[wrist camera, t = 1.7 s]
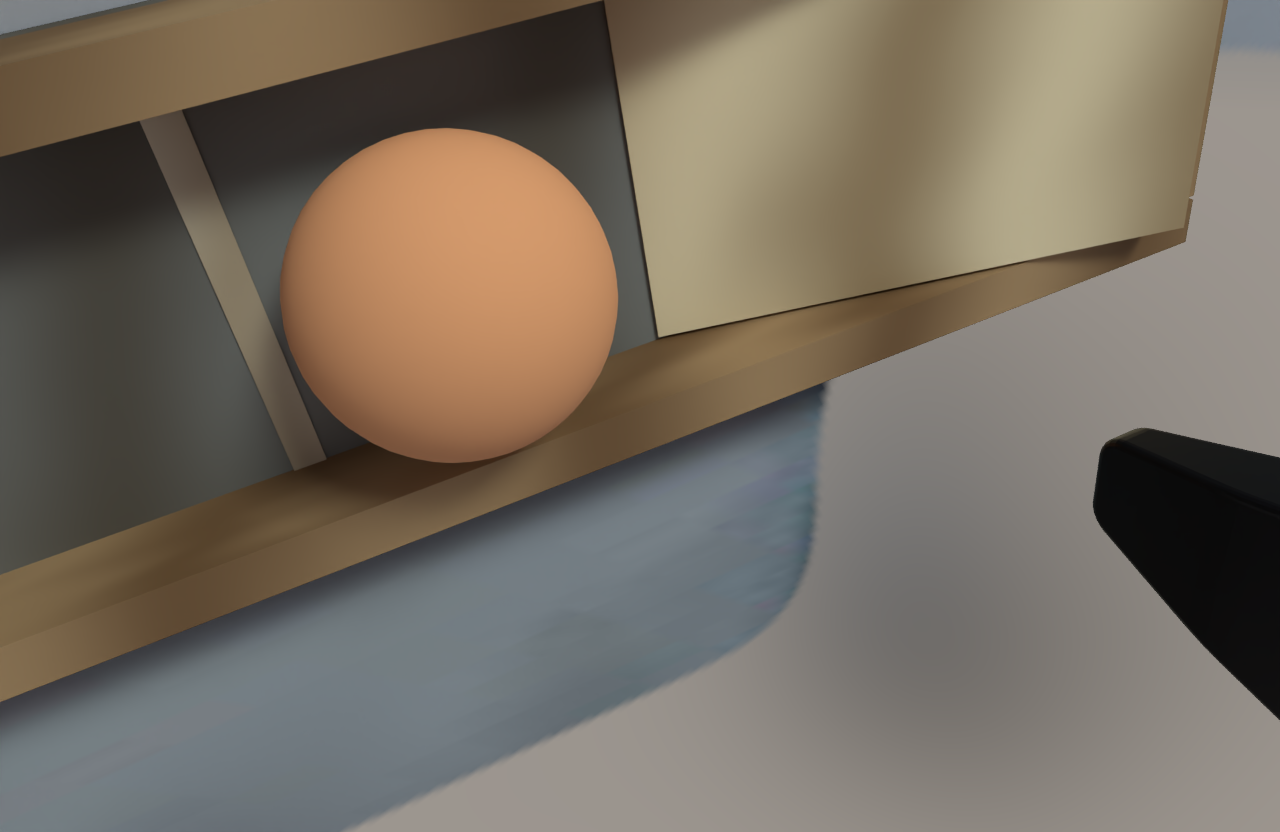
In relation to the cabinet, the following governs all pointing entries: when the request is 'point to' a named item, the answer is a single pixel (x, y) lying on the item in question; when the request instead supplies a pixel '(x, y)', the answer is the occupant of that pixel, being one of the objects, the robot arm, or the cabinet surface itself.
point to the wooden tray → (606, 178)
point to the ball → (448, 295)
